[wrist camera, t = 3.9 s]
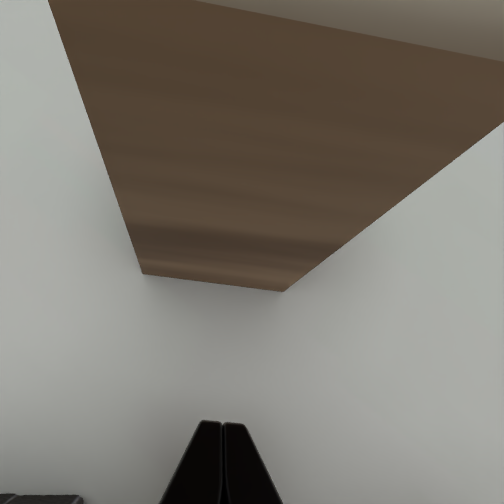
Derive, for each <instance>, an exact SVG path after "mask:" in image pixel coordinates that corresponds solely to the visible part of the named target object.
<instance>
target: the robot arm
mask: <svg viewBox="0 0 504 504" xmlns="http://www.w3.org/2000/svg"><path fill="white" fill-rule="evenodd" d="M159 504H283V502H282V500H281V498H280V496H279V494H278V492H277V490H276V488H275V486H274V483H273V481H272V479H271V477H270V475H269V473H268V471H267V469H266V467H265V465H264V463H263V461H262V458H261V456H260V454H259V452H258V450H257V448H256V446H255V444H254V442H253V440H252V438H251V436H250V433H249V431H248V429H247V428H246V426H245V425H244V424H241V423H230V422H226V423H224V424H223V425H222V423H221V422H219V421H209V420H202V421H201V422H200V423H199V424H198V426H197V428H196V430H195V432H194V434H193V436H192V438H191V440H190V442H189V444H188V446H187V448H186V450H185V452H184V454H183V456H182V458H181V460H180V462H179V464H178V466H177V468H176V470H175V472H174V474H173V476H172V478H171V480H170V482H169V484H168V486H167V488H166V490H165V492H164V494H163V496H162V499H161V501H160V503H159Z"/></svg>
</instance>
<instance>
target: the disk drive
mask: <svg viewBox="0 0 504 504" xmlns="http://www.w3.org/2000/svg"><path fill="white" fill-rule="evenodd" d="M0 504H83V498H82V497H80V496H79V495H45V496H42V495H23V496H18V495H16V494H0Z"/></svg>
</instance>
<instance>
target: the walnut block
mask: <svg viewBox="0 0 504 504" xmlns="http://www.w3.org/2000/svg"><path fill="white" fill-rule="evenodd" d="M48 2H49V5H50V8H51V11H52V13H53V16H54V19H55V22H56V25H57V28H58V31H59V34H60V37H61V39H62V42H63V45H64V48H65V51H66V54H67V57H68V60H69V63H70V65H71V68H72V71H73V74H74V77H75V80H76V83H77V86H78V89H79V91H80V94H81V97H82V100H83V103H84V106H85V109H86V112H87V114H88V117H89V120H90V123H91V126H92V129H93V132H94V135H95V138H96V140H97V143H98V146H99V149H100V152H101V155H102V158H103V161H104V164H105V166H106V169H107V172H108V175H109V178H110V181H111V184H112V187H113V190H114V192H115V195H116V198H117V201H118V204H119V207H120V210H121V213H122V216H123V218H124V221H125V224H126V227H127V230H128V233H129V236H130V239H131V241H132V244H133V247H134V250H135V253H136V256H137V259H138V262H139V265H140V267H141V270H142V273H143V274H148V275H155V276H163V277H171V278H179V279H187V280H195V281H202V282H210V283H218V284H226V285H234V286H241V287H249V288H257V289H265V290H273V291H281V292H283V291H285V290H286V289H287V288H289V287H290V286H291V285H293V284H294V283H295V282H296V281H298V280H299V279H300V278H302V277H303V276H304V275H306V274H307V273H308V272H309V271H311V270H312V269H313V268H315V267H316V266H317V265H318V264H320V263H321V262H322V261H324V260H325V259H326V258H328V257H329V256H330V255H331V254H333V253H334V252H335V251H337V250H338V249H339V248H341V247H342V246H343V245H344V244H346V243H347V242H348V241H350V240H351V239H352V238H354V237H355V236H356V235H357V234H359V233H360V232H361V231H363V230H364V229H365V228H366V227H368V226H369V225H370V224H372V223H373V222H374V221H376V220H377V219H378V218H379V217H381V216H382V215H383V214H385V213H386V212H387V211H389V210H390V209H391V208H392V207H394V206H395V205H396V204H398V203H399V202H400V201H402V200H403V199H404V198H405V197H407V196H408V195H409V194H411V193H412V192H413V191H414V190H416V189H417V188H418V187H420V186H421V185H422V184H424V183H425V182H426V181H427V180H429V179H430V178H431V177H433V176H434V175H435V174H437V173H438V172H439V171H440V170H442V169H443V168H444V167H446V166H447V165H448V164H450V163H451V162H452V161H453V160H455V159H456V158H457V157H459V156H460V155H461V154H462V153H464V152H465V151H466V150H468V149H469V148H470V147H472V146H473V145H474V144H475V143H477V142H478V141H479V140H481V139H482V138H483V137H485V136H486V135H487V134H488V133H490V132H491V131H492V130H494V129H495V128H496V127H498V126H499V125H500V124H501V123H503V122H504V0H48Z"/></svg>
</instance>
